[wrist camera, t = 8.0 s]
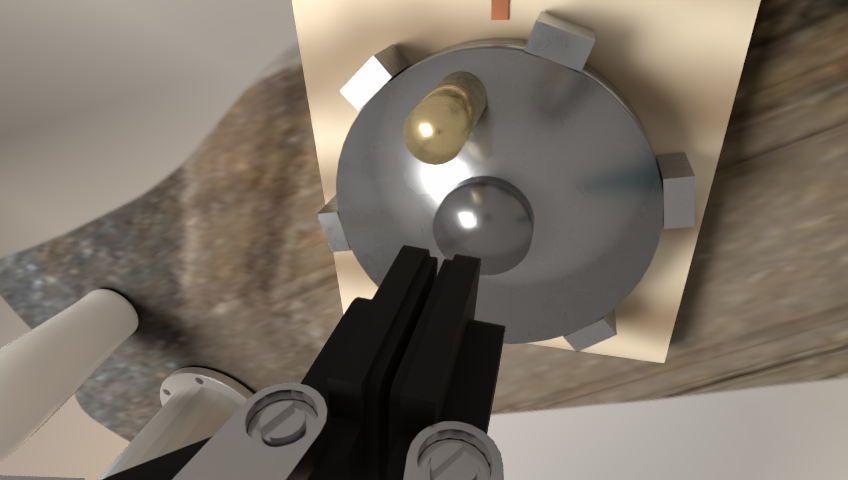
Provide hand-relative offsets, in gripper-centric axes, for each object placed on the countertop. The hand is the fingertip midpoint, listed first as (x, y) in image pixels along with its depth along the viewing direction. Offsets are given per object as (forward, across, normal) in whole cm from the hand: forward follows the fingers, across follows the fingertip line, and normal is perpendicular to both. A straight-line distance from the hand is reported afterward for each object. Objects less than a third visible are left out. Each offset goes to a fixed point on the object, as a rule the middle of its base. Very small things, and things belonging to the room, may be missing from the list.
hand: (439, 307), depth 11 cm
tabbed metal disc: (+18, +1, +6) cm, 19 cm away
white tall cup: (+21, +35, +25) cm, 48 cm away
